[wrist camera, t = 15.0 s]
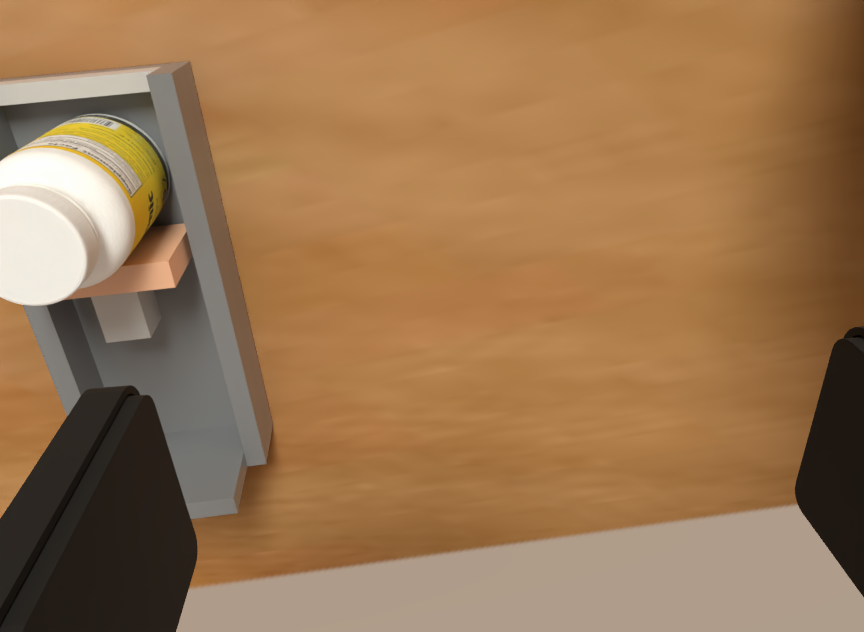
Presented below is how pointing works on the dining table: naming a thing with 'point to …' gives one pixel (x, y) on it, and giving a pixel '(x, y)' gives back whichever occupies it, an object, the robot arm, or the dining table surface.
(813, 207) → the dining table surface
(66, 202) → the supplement bottle
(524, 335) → the dining table surface
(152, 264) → the spring paddle
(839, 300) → the dining table surface
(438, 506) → the dining table surface
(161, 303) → the pusher lane
